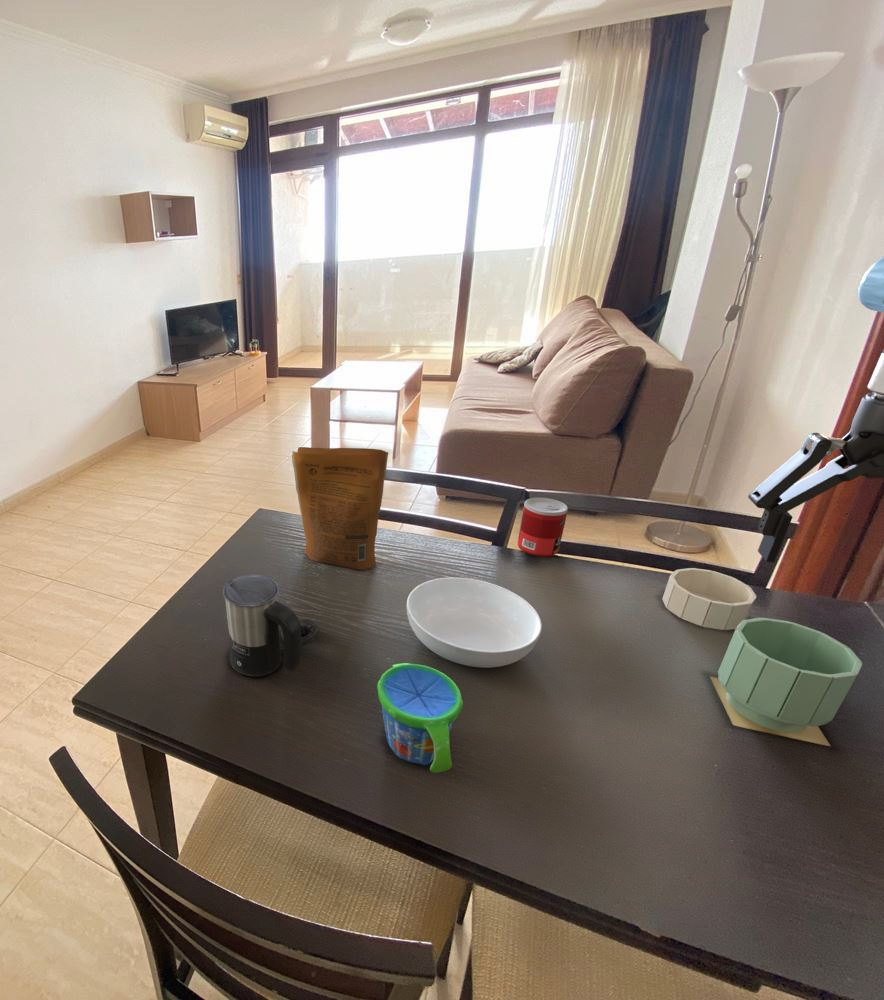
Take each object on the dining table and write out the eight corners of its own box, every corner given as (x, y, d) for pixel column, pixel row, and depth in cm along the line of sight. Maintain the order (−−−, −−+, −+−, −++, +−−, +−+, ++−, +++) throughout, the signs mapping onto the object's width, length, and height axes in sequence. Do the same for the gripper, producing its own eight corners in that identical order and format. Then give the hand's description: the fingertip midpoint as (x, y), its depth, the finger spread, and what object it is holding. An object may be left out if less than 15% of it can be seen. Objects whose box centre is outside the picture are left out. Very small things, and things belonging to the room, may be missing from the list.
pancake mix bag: (378, 578, 113) (385, 454, 101) (292, 562, 122) (290, 445, 110) (384, 562, 119) (392, 443, 107) (302, 547, 127) (301, 435, 115)
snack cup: (364, 703, 84) (366, 652, 79) (432, 700, 83) (439, 649, 79) (390, 795, 69) (395, 739, 65) (473, 793, 69) (484, 736, 65)
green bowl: (801, 690, 79) (833, 627, 74) (843, 753, 69) (882, 686, 64) (700, 671, 83) (724, 611, 79) (727, 728, 74) (756, 664, 69)
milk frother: (220, 670, 93) (213, 599, 86) (253, 616, 105) (249, 551, 99) (300, 691, 87) (298, 617, 80) (325, 631, 100) (325, 563, 93)
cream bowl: (731, 599, 99) (741, 574, 96) (755, 637, 90) (767, 610, 87) (656, 588, 103) (663, 564, 101) (671, 623, 94) (680, 597, 92)
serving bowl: (565, 666, 87) (573, 632, 84) (455, 700, 83) (460, 666, 80) (475, 596, 105) (480, 566, 103) (381, 621, 101) (383, 591, 98)
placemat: (795, 694, 79) (796, 692, 78) (830, 749, 71) (831, 746, 70) (708, 678, 83) (709, 676, 82) (731, 727, 75) (732, 725, 74)
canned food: (561, 560, 114) (572, 514, 109) (519, 556, 117) (527, 511, 112) (554, 542, 121) (563, 498, 116) (514, 539, 123) (522, 496, 119)
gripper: (777, 402, 59) (719, 565, 68) (1139, 410, 49) (1014, 599, 58) (751, 385, 66) (700, 537, 75) (1067, 389, 55) (964, 564, 64)
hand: (838, 564), depth 66 cm, fingers open, 13 cm apart
